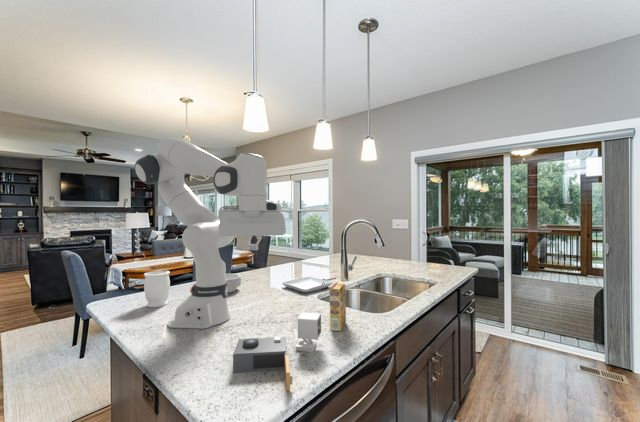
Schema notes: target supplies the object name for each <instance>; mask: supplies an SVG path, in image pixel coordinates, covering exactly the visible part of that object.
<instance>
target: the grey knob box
mask: <svg viewBox="0 0 640 422" xmlns="http://www.w3.org/2000/svg"><path fill="white" fill-rule="evenodd" d="M286 352H287V336H273V337H256V338H255V337H254V338H238V340H237V343H236V346H235V348H234V351H233V353H232V373H233V374H235V373H251V372H265V371H266V372H268V371H269V372H270V371H282V370H284V371H285V353H286Z"/></svg>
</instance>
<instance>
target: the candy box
mask: <svg viewBox="0 0 640 422" xmlns="http://www.w3.org/2000/svg"><path fill="white" fill-rule="evenodd" d="M346 299H347V298H346V283H345V282H335V283H334V284H332V285H331V287H329V319H330V320H329V325H330V326H329V328H330V329H329V330H330V331H335V332H341V331H342V329H343V328H344V326H345V325H346V322H347V312H346V311H347V309H346V308H347V307H346V306H347V305H346Z"/></svg>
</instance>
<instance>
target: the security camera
mask: <svg viewBox="0 0 640 422" xmlns="http://www.w3.org/2000/svg"><path fill="white" fill-rule="evenodd" d="M321 333H322V314H321V313H316V312H315V313H314V312H301V314H300V315H299V317H298V318H297V339H299V340H298V341H297V342H298V343H296V345H295V351H299V352H309V353H313V352H314V350H315V348H316V346H317V341H318V339H319V338H320V336H321Z"/></svg>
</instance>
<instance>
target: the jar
mask: <svg viewBox="0 0 640 422" xmlns="http://www.w3.org/2000/svg"><path fill="white" fill-rule="evenodd" d="M169 275H170V270H153V271H148V272H144V273H143V276H144V277H145V278H144V285H143V290H144V295H145V299H146V302H147V304H146V306H147V307H148V308H158V307H163V306H166V305H168V303H169V301H168V298H169V294H170V287H171V280H170V276H169Z"/></svg>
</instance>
